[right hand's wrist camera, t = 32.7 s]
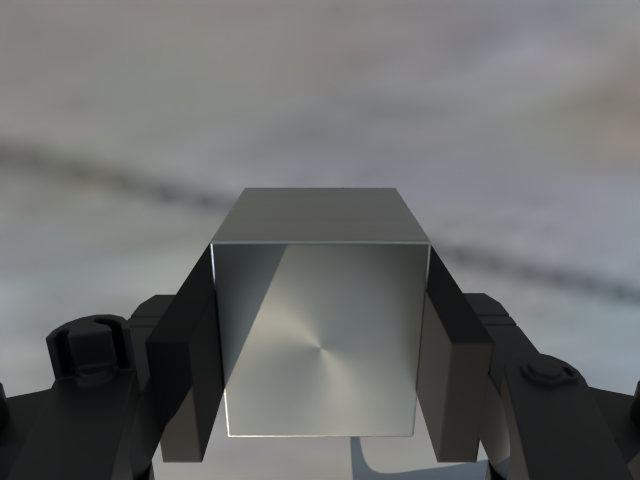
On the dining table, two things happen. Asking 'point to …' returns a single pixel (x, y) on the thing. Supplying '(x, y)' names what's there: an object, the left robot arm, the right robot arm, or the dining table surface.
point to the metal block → (320, 312)
